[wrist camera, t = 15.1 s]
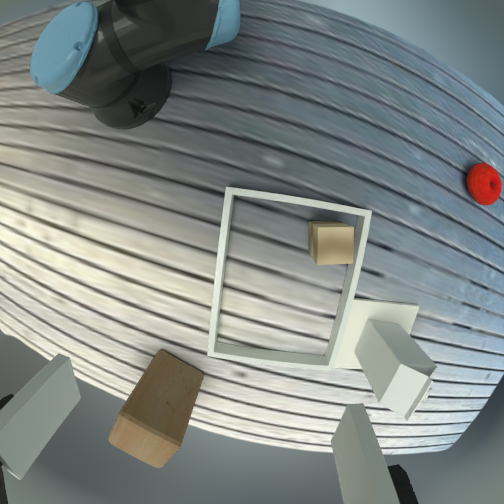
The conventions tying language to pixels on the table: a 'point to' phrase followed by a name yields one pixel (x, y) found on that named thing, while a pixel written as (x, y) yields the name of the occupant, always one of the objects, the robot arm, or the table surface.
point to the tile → (357, 321)
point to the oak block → (331, 242)
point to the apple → (484, 183)
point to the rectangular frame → (344, 305)
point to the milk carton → (394, 366)
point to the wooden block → (157, 410)
